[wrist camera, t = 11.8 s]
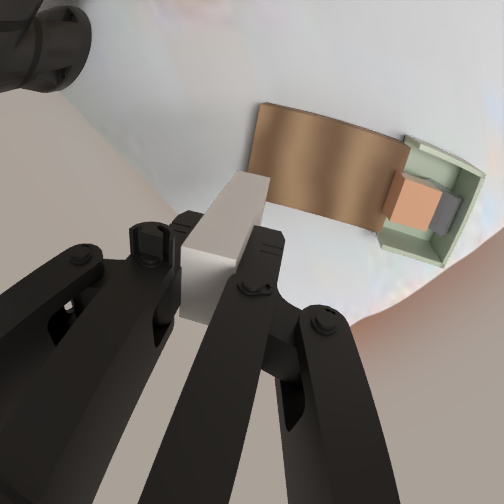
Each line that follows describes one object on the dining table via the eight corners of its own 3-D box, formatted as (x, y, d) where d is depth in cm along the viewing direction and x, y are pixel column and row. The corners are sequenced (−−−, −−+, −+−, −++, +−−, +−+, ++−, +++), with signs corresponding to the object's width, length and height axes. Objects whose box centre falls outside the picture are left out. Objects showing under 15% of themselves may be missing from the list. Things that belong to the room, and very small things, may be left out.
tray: (373, 226, 38) (381, 248, 33) (405, 134, 31) (420, 143, 26) (430, 244, 37) (443, 268, 32) (465, 160, 30) (486, 174, 25)
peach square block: (382, 209, 32) (389, 221, 30) (396, 169, 30) (405, 178, 27) (417, 219, 33) (426, 231, 30) (431, 182, 30) (442, 192, 27)
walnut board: (250, 184, 39) (243, 195, 35) (266, 102, 33) (260, 104, 30) (375, 219, 37) (380, 233, 34) (402, 141, 31) (411, 147, 28)
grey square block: (441, 236, 30) (447, 232, 32) (458, 199, 28) (463, 197, 29) (408, 215, 33) (417, 212, 35) (423, 178, 31) (430, 178, 32)
